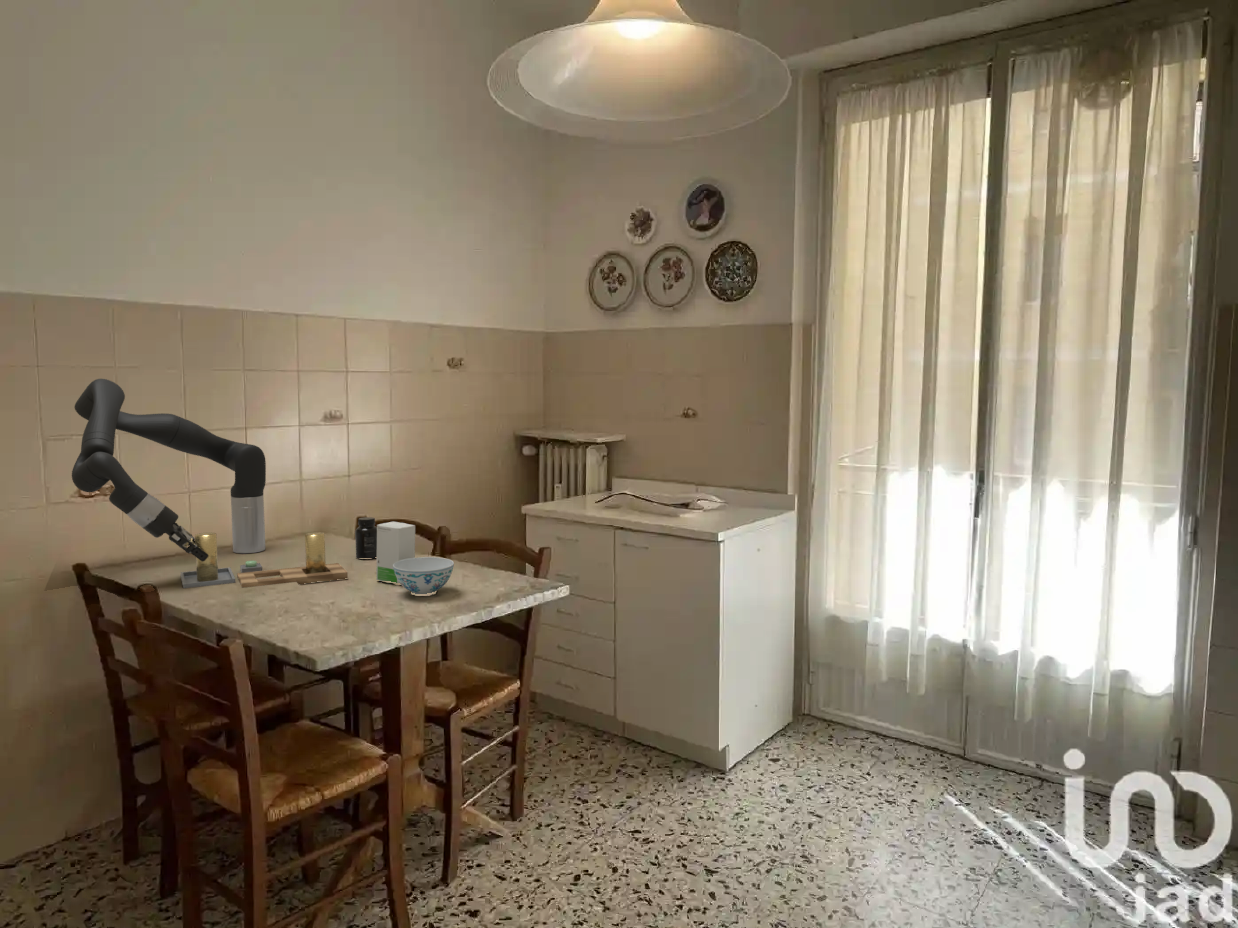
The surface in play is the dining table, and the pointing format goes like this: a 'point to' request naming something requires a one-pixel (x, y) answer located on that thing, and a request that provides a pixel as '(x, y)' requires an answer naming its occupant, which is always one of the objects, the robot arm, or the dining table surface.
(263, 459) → the robot arm
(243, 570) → the button housing
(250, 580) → the pallet
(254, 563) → the button
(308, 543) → the seated billet
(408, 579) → the chinaware
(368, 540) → the supplement bottle
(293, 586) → the dining table surface
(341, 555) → the dining table surface
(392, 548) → the skincare box
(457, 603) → the dining table surface
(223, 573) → the grey tray
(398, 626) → the dining table surface
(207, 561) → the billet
